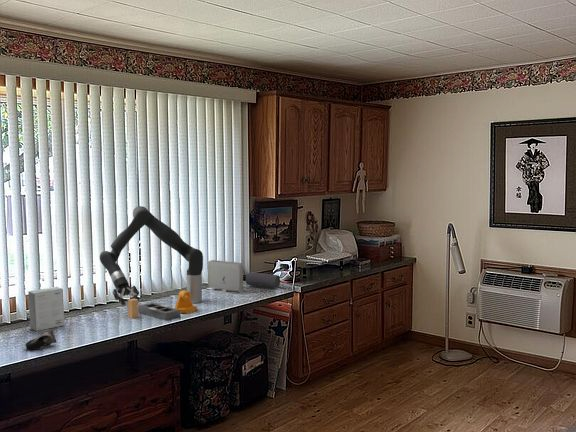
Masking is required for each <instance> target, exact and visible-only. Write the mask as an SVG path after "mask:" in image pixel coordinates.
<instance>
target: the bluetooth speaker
mask: <svg viewBox="0 0 576 432" xmlns="http://www.w3.org/2000/svg"><path fill="white" fill-rule="evenodd" d="M245 284H246V285H249V286H253V287H255V288H258V289H267V290H269V289H270V288H275V289H276V288H279V287H280V284H281V277H280V275H277V274H271V273H270V274H269V273H263V272H247V274H246V275H245Z"/></svg>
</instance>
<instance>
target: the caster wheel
mask: <svg viewBox="0 0 576 432" xmlns="http://www.w3.org/2000/svg"><path fill="white" fill-rule="evenodd" d="M39 334H40V336H37V337H36V338H33V339H30V340H28V341H27V342H26V343H25V348H26V350H27V351H33V350H37V349H40V350H45V349H47V348H49V347H50V346H51V345H52V344H57V339H56V336H55V333H54V330H53V329H50V330H49V329H47V330H44V331H43V330H42V331H39Z"/></svg>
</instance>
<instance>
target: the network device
mask: <svg viewBox="0 0 576 432" xmlns="http://www.w3.org/2000/svg"><path fill="white" fill-rule="evenodd" d="M207 287H208V288H210V289H211V292H214V293H215V292H216V293H222V294H229V295H231V294H232V295H235V294H238V293H240V291H242V290H243V289H244V264H243V263H242V262H235V261H227V260H226V261H225V260H216V259H215V260H214V259H211V260H208V262H207Z"/></svg>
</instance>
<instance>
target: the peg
mask: <svg viewBox="0 0 576 432" xmlns="http://www.w3.org/2000/svg"><path fill="white" fill-rule="evenodd" d="M138 299H139V298H138ZM138 299H134V298H130V299H127V318H129V319H136V318H137V319H138V318H139V312H138V305H139V301H138Z"/></svg>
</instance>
